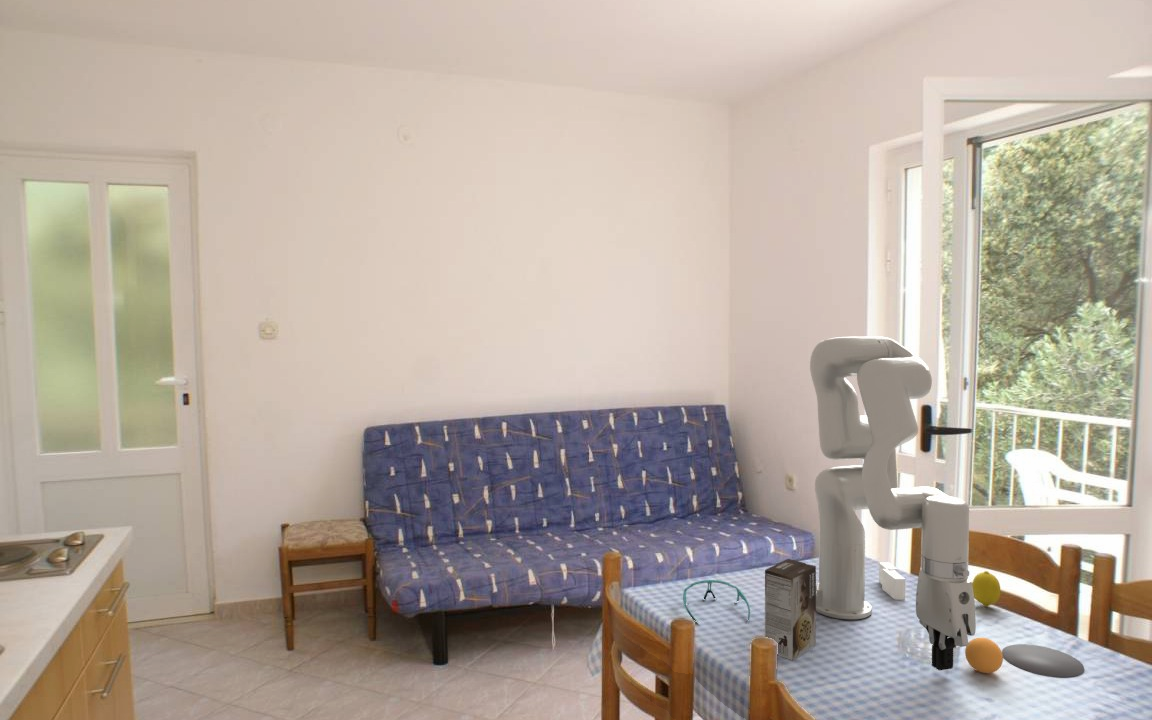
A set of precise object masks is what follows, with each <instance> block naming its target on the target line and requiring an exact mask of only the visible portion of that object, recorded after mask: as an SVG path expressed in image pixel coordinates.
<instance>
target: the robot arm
mask: <svg viewBox="0 0 1152 720" xmlns="http://www.w3.org/2000/svg"><path fill="white" fill-rule="evenodd" d="M809 370H810V376H811V380H812V383H813V387H814V390H815V394H816V400H817V419H818V435H819V436H818V437H819V445H820V450H821V453H822V455H823V456H825V458H827V459H829V460H833V461H834V460H835V461H849V460H850V461H851V460H853V461H855V460H863V464H862V465H861V464H860V465H842V466H832V467H828V468H825V469H824V470H822V471H820V472H819V473H818V474H817V476H816V478H815V480H814V492H815V497H816V503H817V510H818V520H819V521H818V525H819V526H818V529H819V530H818V537H819V539H818V541H819V542H818V582H817V583H816V613H819V614H820V615H823V616H825V617H830V618H833V619H839V620H862V619H865V618H868V617H869V616H871V615H872V612H873V607H872V605H871V603H869V602H868V601H866V599H865V595H866V594H865V589H866V588H865V587H866V585H865V584H866V582H865V580H866V579H865V578H866V531H865V527H864V525H863V523H862V521H861V520H860V519H859V518H858V516H857V514H856V511H861V510H868V511H869V514H870V516H871V517H872V520H874V522H875V523H876V525H877V526H878V527H880V528H882V529H884V530H890V531H892V530H894V531H897V530H898V531H899V530H908V529H921V537H920V538H921V542H920V543H921V544H920V545H921V547H920V549H921V550H920V552H921V553H920V569H919V573H918V577H917V584H916V592H915V593H916V594H915V614H916V618H917V619H918V620H919V624H920V625H921V626H922V627H923V628H925V629H926V631H927V633H928V640H929V643H930V644H931V645H932V646H931V667H933V668H935V669H936V670H938V671H945V670H951V669H953V668H954V649H956V648H957V647H961V648H962V647H966V646H968V643H969V639H968V638H969V637H968V636H972V637H973V636H975V635H976V627H977V623H976V620H977V619H976V604H975V597H974V593H973V588H972V581H971V579H969V576H970V571H969V551H970V550H969V546H970V545H969V544H970V543H969V542H970V541H969V540H970V539H969V538H970V508H969V507H970V506H969V505H968V503H967V502H966V501H965V500H963V499H962V498H959V497H955V496H951V495H948V494H947V493H944V492H943V491H942V490H939V488H935V487H933V486H913V487H912V486H909V487H898V472H897V471H898V470H897V453H896V448H898V447H900V446H901V445H904V444H905V443H907V442H909V441H911V440H913V439H914V438H916V436H918V433H919V425H918V422H917V419H916V416H915V414H914V409H913V406H912V403H911V401H910V400H918V399H923V398H925V397H926V396H927V395H928V394H929V393H930V391H931V389H932V386H933V385H932V384H933V378H932V375H931V371H930V369H929V366H928V365H927V364H926V363H925V362H924V360H923V359H921V358H920V357H919V356H918V355H916V353H914V352H912V351H911V350H910V349H908V348H906V347H905V346H903V345H902V344H900V343H899V342H897V341H896V340H894V339H892V338H889V337H886V336H885V337H884V336H841V337H840V336H839V337H832V338H827V339H824V340H821V341H820V342H818V343H817V344H816V345H815V347H814V348H813V350H812V352H811V356H810V361H809ZM846 377H856V380H857V386H858V389H859V393H860V397H861V400H862V403H863V408H864V411H865V415H860V412H859V398H858V397H859V396H858V393H857V392H856V390H855V388H854V387H853V385H852V383H850V381H849V380H848V379H847V378H846Z"/></svg>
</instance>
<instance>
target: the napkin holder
mask: <svg viewBox="0 0 1152 720" xmlns="http://www.w3.org/2000/svg"><path fill="white" fill-rule="evenodd" d="M878 583H879V584H881V589H882V590H883V591H884V592H885V593H886V594H887V595H889V596H890V597H891V598H892V599H893V600H895V601H896V600H897V601H898V600H899V601H901V600H903V601H905V600H906V578H905V577H904V576H902V575H901V574H899V573H898V568H896V567H895V566H894V565H892V564H891V563H890V562H879V563H878Z"/></svg>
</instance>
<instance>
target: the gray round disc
mask: <svg viewBox="0 0 1152 720" xmlns="http://www.w3.org/2000/svg"><path fill="white" fill-rule="evenodd" d="M1001 652H1002V655H1003V659H1004V660H1005V661H1007V662H1008V663H1010V664H1011V665H1013V666H1015V667H1017V668H1019V669H1021V670H1024V671H1027V672H1031V673H1034V674H1037V675H1042V676H1047V677H1053V678H1055V677H1056V678H1072V677H1077V676H1080V675H1082V674H1083V673H1084V672H1085V666H1084V664H1083V663H1082V662H1081V661H1080V660H1079V659H1077V658H1076V657H1073V656H1072V655H1070V654H1068V653H1065V652H1063V651H1060V650H1057V649H1054V648H1050V647H1046V646H1041V645H1037V644H1021V643H1020V644H1018V643H1017V644H1011V645H1007V646H1005V647H1004V648H1002V650H1001Z"/></svg>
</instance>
